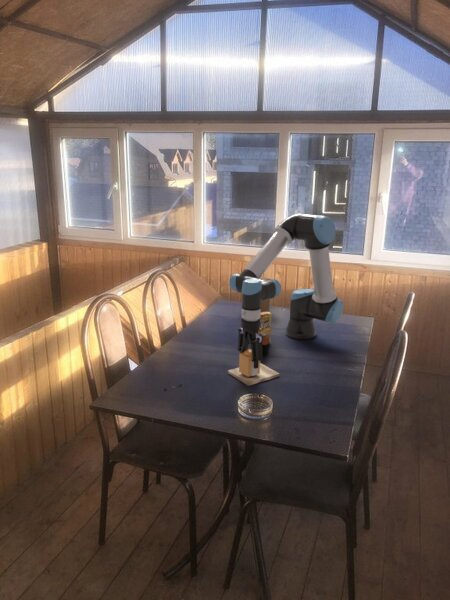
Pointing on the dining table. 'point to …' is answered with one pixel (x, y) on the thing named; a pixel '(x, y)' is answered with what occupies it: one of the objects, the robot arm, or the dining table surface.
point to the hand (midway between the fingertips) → (249, 371)
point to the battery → (265, 343)
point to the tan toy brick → (246, 363)
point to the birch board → (262, 376)
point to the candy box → (265, 324)
